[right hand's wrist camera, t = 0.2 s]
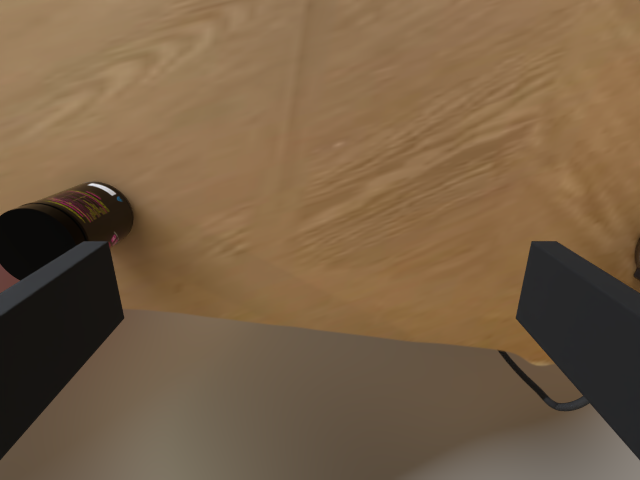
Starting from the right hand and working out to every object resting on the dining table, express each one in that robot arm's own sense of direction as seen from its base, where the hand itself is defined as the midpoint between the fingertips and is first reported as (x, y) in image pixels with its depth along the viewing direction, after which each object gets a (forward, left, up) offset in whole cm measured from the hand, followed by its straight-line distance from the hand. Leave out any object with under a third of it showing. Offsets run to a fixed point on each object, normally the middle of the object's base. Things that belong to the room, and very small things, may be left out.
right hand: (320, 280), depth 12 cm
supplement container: (+6, -22, -28) cm, 36 cm away
